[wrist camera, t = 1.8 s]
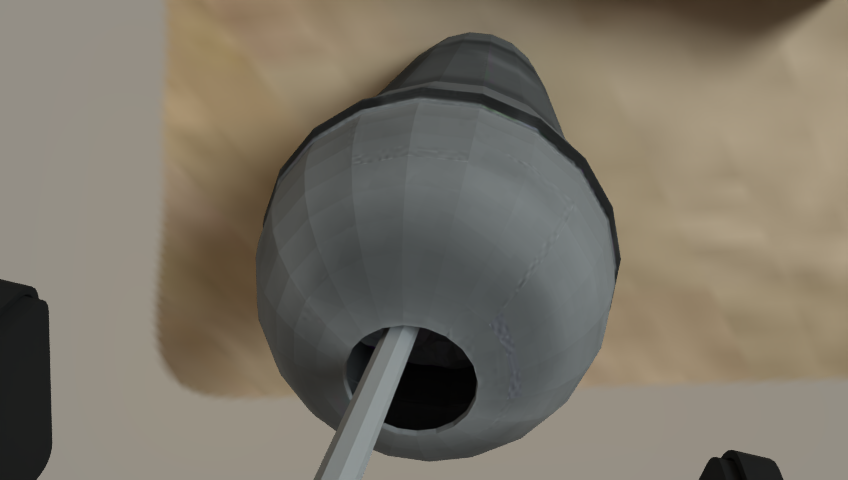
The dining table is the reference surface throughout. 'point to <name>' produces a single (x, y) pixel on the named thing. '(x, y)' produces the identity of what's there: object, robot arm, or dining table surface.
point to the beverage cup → (437, 262)
